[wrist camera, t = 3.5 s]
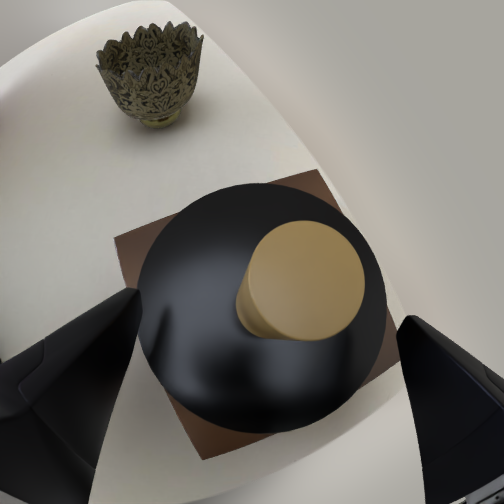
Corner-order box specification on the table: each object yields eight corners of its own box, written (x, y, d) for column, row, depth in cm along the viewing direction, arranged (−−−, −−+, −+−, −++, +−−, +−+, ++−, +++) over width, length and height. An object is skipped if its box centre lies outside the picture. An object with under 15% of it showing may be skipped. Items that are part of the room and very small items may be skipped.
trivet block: (361, 353, 16) (406, 355, 11) (206, 426, 14) (202, 460, 9) (294, 208, 19) (317, 168, 14) (140, 264, 16) (112, 237, 12)
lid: (406, 355, 11) (495, 353, 6) (202, 460, 9) (192, 541, 3) (317, 168, 14) (359, 89, 8) (112, 237, 12) (51, 170, 6)
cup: (213, 135, 20) (215, 51, 12) (123, 161, 18) (90, 84, 11) (193, 84, 22) (191, 14, 14) (118, 105, 20) (98, 38, 13)
